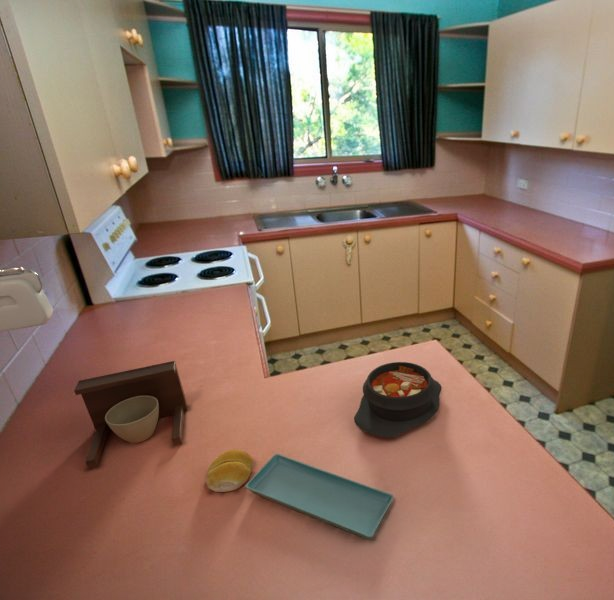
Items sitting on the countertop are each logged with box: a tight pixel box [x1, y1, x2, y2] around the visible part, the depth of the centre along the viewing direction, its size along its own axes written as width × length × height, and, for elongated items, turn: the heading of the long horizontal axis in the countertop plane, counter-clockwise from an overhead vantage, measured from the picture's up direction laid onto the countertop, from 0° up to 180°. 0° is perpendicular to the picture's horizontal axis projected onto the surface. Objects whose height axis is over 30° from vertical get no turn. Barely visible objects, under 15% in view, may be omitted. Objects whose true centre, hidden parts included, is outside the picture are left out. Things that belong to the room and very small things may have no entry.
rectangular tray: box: [244, 453, 395, 540], centre depth 77 cm, size 26×9×2 cm, turn 66°
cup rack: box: [73, 360, 189, 470], centre depth 92 cm, size 14×19×13 cm
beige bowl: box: [105, 396, 159, 444], centre depth 93 cm, size 10×10×7 cm
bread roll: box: [205, 449, 254, 493], centre depth 82 cm, size 8×9×4 cm
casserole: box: [353, 361, 442, 439], centre depth 99 cm, size 25×19×8 cm
